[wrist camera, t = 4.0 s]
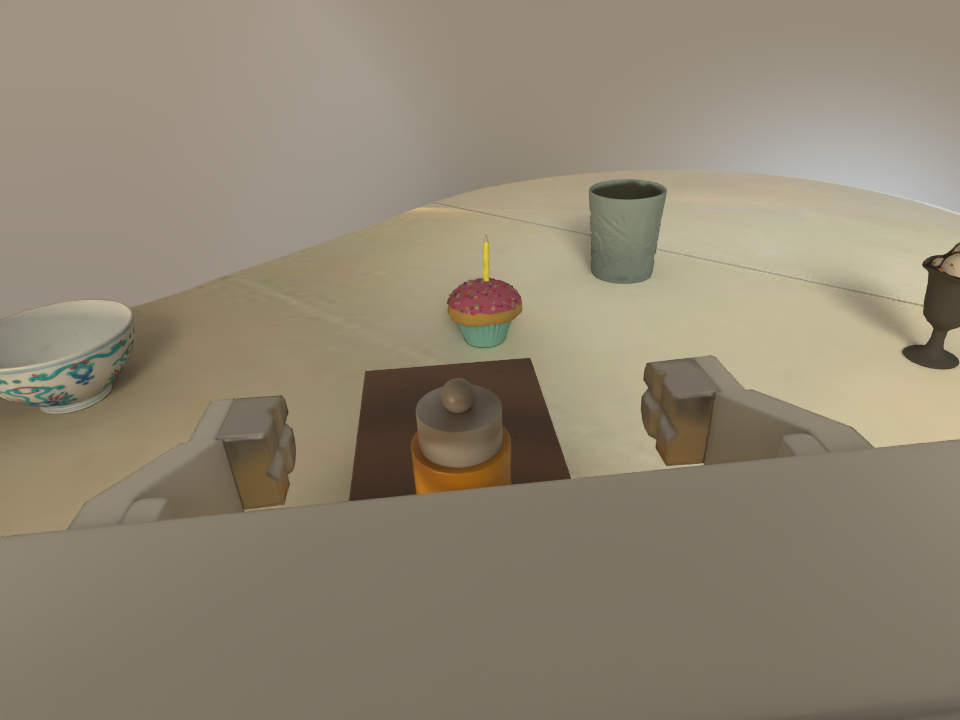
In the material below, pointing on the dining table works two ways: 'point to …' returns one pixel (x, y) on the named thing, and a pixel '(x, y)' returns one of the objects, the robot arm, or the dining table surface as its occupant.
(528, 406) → the cabinet
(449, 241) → the dining table surface
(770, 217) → the dining table surface
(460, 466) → the pepper mill
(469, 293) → the cupcake
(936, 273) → the sundae
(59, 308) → the chinaware
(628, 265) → the green embossed cup
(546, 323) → the dining table surface
